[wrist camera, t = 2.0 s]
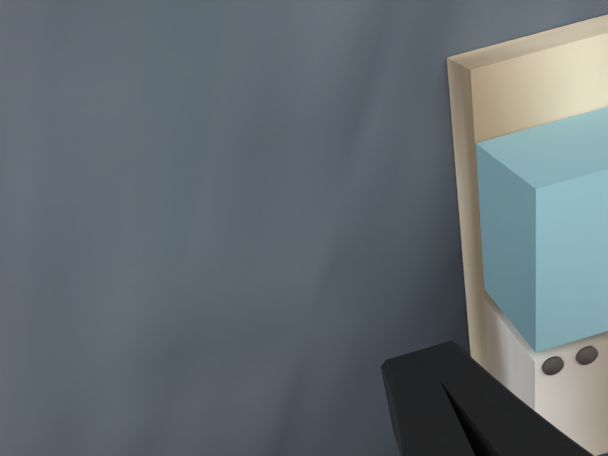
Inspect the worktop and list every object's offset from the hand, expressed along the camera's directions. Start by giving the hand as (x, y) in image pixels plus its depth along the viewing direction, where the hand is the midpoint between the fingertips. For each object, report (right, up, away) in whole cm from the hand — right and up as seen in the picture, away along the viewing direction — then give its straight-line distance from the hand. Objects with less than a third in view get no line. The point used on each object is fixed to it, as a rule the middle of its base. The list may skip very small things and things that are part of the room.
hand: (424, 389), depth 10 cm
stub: (+5, +4, +6) cm, 9 cm away
